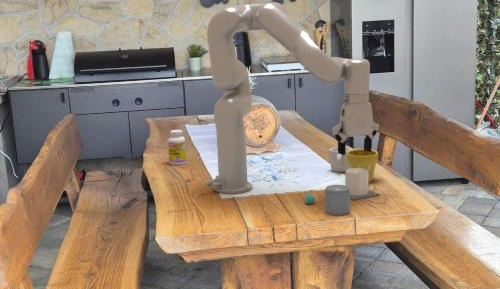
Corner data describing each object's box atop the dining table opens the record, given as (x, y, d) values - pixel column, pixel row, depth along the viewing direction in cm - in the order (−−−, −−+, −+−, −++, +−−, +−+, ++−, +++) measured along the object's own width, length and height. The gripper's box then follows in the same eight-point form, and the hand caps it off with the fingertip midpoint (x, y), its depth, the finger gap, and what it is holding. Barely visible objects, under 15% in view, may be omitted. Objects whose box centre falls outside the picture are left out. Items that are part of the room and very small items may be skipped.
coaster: (352, 200, 224) (352, 198, 224) (335, 192, 233) (335, 191, 233) (379, 195, 228) (379, 193, 228) (361, 188, 237) (361, 186, 237)
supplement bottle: (166, 164, 278) (164, 132, 276) (174, 160, 284) (172, 128, 282) (181, 165, 276) (179, 132, 273) (189, 161, 282) (187, 129, 279)
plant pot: (359, 185, 240) (359, 157, 238) (341, 179, 249) (341, 151, 247) (384, 181, 245) (384, 153, 243) (365, 174, 254) (365, 147, 252)
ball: (308, 205, 220) (308, 196, 220) (303, 203, 223) (303, 193, 222) (316, 204, 222) (316, 194, 221) (311, 201, 224) (311, 192, 224)
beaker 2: (353, 196, 226) (353, 174, 225) (342, 191, 232) (341, 169, 231) (371, 193, 229) (372, 171, 228) (359, 188, 235) (359, 167, 234)
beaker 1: (334, 216, 209) (333, 192, 208) (321, 210, 215) (321, 186, 214) (353, 212, 212) (353, 188, 211) (341, 206, 218) (340, 183, 217)
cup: (350, 175, 253) (350, 153, 252) (327, 175, 255) (327, 153, 253) (352, 168, 264) (352, 146, 262) (330, 167, 265) (330, 146, 264)
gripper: (339, 102, 217) (337, 158, 221) (386, 98, 225) (384, 152, 229) (326, 99, 224) (324, 153, 228) (372, 95, 231) (370, 147, 235)
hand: (354, 152), depth 228 cm, fingers open, 9 cm apart
